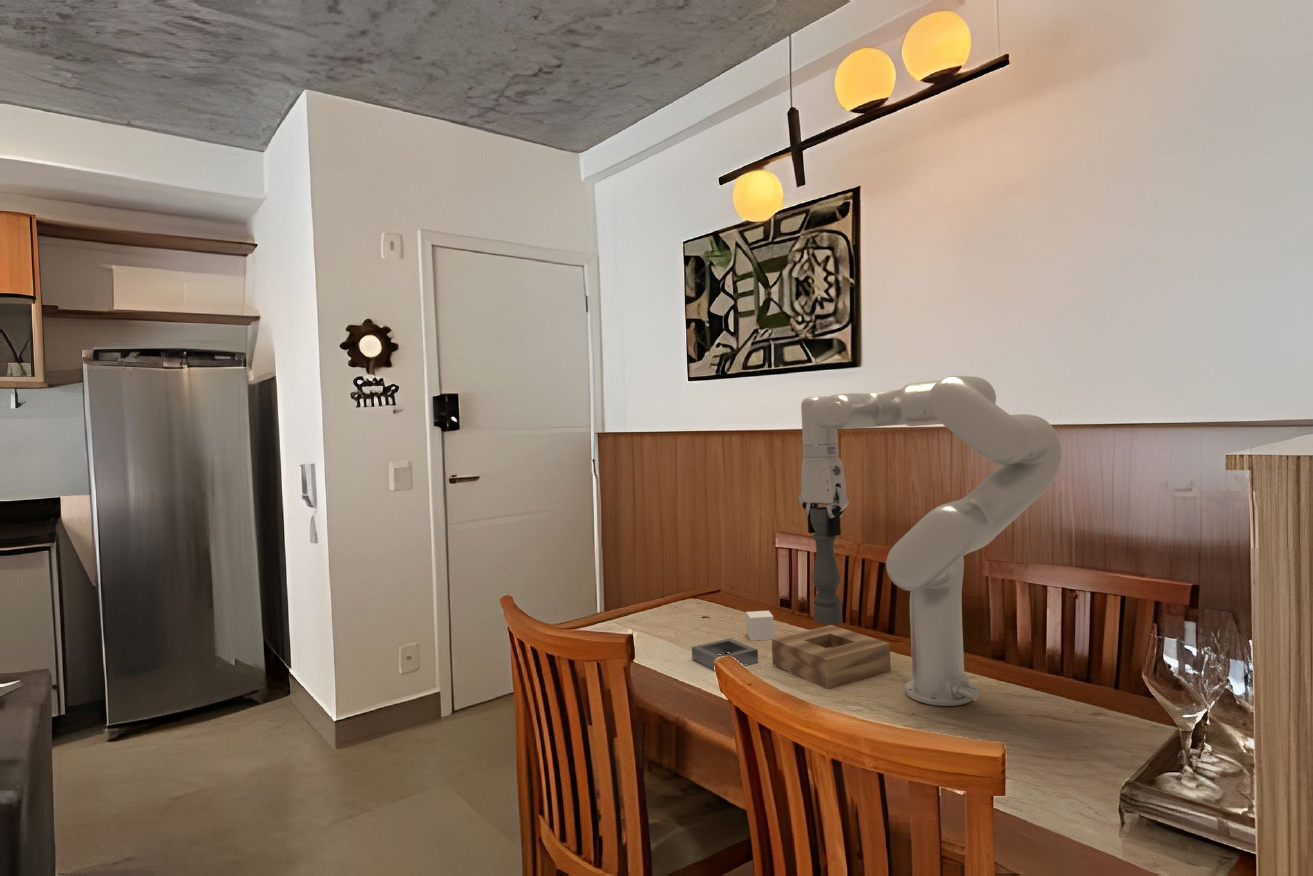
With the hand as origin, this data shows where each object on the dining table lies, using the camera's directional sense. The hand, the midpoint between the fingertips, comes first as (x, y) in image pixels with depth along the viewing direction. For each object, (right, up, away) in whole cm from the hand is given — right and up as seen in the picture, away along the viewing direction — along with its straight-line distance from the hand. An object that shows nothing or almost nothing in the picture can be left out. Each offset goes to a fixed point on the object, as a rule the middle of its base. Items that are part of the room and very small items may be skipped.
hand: (824, 533), depth 158 cm
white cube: (-10, -30, +26) cm, 41 cm away
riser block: (+1, -30, 0) cm, 30 cm away
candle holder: (+1, -20, 0) cm, 20 cm away
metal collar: (-21, -31, +8) cm, 38 cm away
